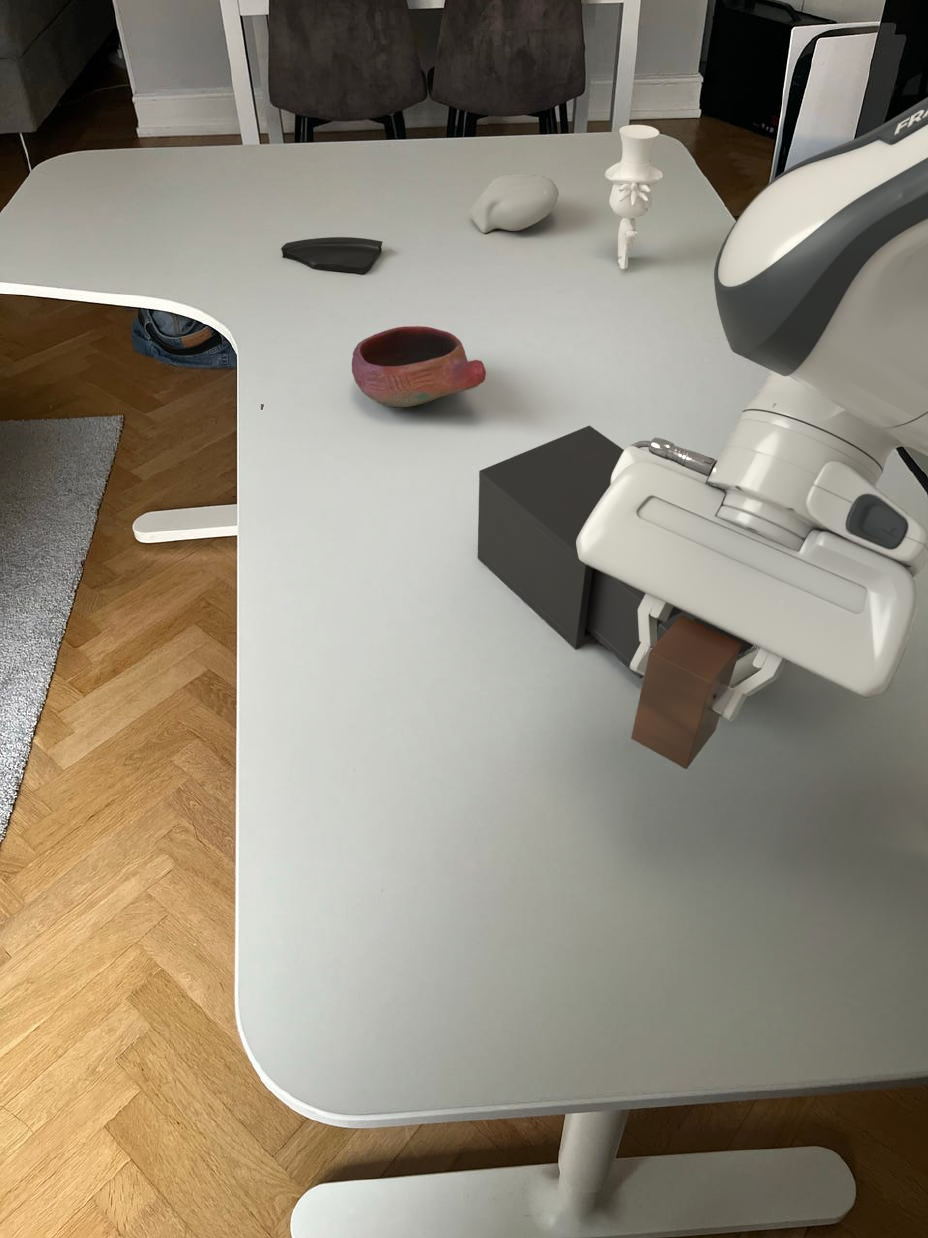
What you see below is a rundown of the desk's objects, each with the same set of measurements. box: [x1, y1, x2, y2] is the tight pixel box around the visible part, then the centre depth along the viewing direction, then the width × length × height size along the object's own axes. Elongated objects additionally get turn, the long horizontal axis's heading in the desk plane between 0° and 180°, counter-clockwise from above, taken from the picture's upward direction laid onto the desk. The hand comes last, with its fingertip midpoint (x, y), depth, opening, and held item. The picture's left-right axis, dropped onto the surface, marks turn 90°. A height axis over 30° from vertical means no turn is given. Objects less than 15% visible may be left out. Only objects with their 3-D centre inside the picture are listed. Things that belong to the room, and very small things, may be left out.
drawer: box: [585, 568, 760, 687], centre depth 83 cm, size 18×12×8 cm, turn 35°
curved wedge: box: [280, 236, 383, 274], centre depth 142 cm, size 8×14×2 cm, turn 74°
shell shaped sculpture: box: [469, 173, 560, 234], centre depth 149 cm, size 13×13×6 cm
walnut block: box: [630, 615, 742, 770], centre depth 61 cm, size 4×4×8 cm
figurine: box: [604, 124, 664, 270], centre depth 135 cm, size 10×8×18 cm
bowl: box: [351, 325, 487, 408], centre depth 113 cm, size 16×13×8 cm
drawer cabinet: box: [477, 425, 625, 650], centre depth 90 cm, size 15×13×10 cm
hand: (680, 695), depth 60 cm, fingers closed on walnut block, 4 cm apart
